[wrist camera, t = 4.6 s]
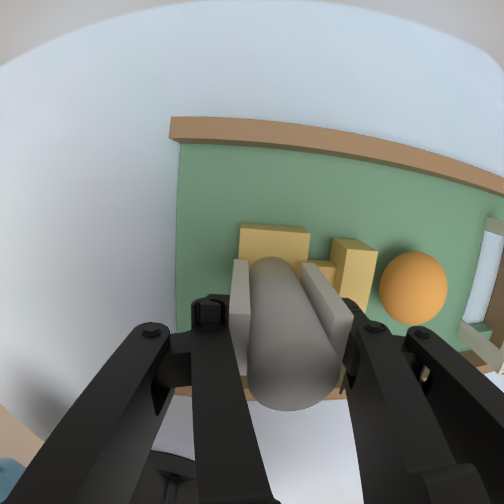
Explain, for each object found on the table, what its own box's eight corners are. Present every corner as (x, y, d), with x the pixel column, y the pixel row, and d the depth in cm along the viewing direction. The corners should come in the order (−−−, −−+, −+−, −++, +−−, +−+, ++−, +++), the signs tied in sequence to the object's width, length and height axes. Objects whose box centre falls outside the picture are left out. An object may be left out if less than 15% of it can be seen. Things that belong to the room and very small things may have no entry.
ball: (376, 317, 21) (405, 351, 16) (360, 260, 20) (392, 286, 15) (427, 289, 20) (463, 315, 16) (416, 233, 19) (457, 250, 14)
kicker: (234, 309, 20) (228, 435, 9) (240, 222, 18) (236, 289, 8) (345, 314, 20) (415, 420, 10) (360, 232, 19) (467, 296, 8)
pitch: (182, 355, 23) (160, 433, 15) (188, 129, 19) (148, 99, 10) (478, 346, 25) (522, 387, 16) (516, 192, 20) (578, 206, 12)
